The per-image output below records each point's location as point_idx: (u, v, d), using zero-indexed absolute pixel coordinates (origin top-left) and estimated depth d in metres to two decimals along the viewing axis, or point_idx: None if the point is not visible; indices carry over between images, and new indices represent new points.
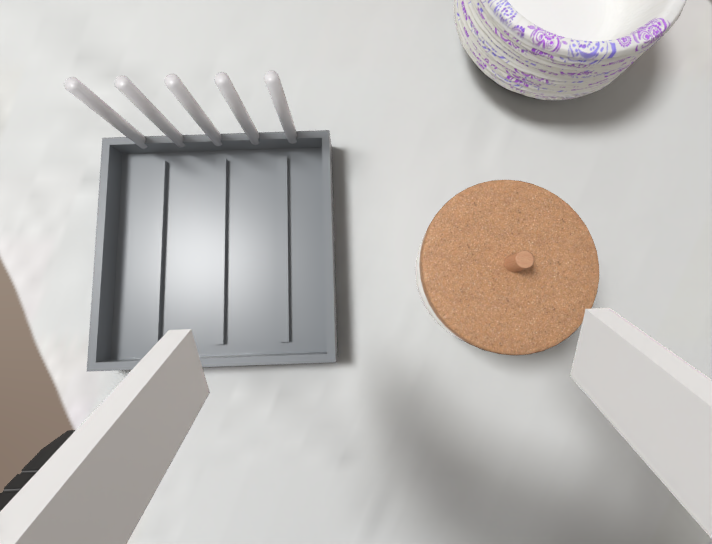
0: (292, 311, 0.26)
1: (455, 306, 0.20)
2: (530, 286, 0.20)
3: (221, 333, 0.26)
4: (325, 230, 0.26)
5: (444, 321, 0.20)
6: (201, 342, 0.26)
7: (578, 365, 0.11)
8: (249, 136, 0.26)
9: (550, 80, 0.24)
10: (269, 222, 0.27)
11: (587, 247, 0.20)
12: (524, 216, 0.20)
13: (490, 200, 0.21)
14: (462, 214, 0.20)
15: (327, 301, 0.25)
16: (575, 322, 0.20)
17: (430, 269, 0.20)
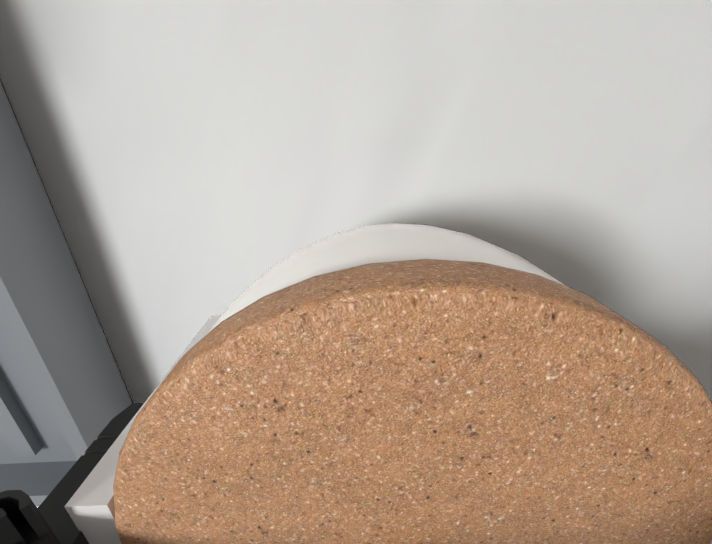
0: (24, 405, 0.13)
1: None
2: None
3: None
4: None
5: None
6: None
7: None
8: None
9: None
10: None
11: (696, 522, 0.06)
12: (487, 447, 0.05)
13: (348, 391, 0.04)
14: (226, 443, 0.05)
15: (59, 420, 0.12)
16: None
17: None
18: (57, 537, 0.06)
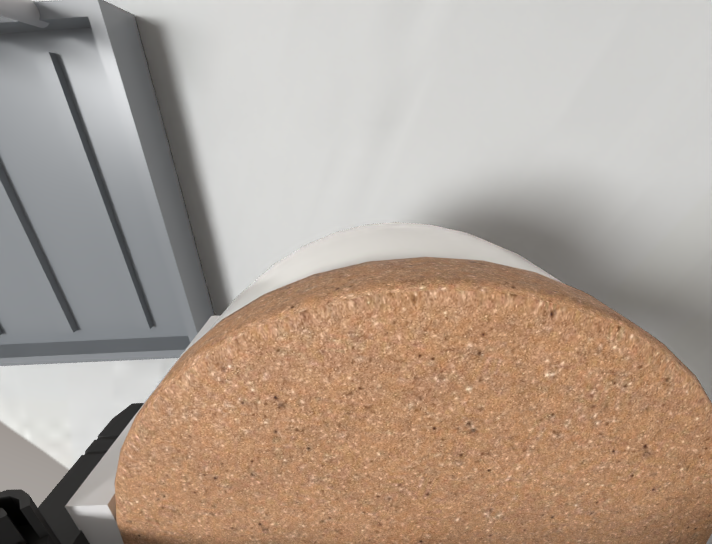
0: (145, 294, 0.21)
1: None
2: None
3: (66, 322, 0.21)
4: (147, 199, 0.17)
5: None
6: (49, 329, 0.22)
7: None
8: None
9: None
10: (70, 175, 0.18)
11: (694, 518, 0.06)
12: (487, 445, 0.05)
13: (348, 388, 0.04)
14: (227, 440, 0.05)
15: (177, 294, 0.19)
16: None
17: None
18: (58, 537, 0.06)
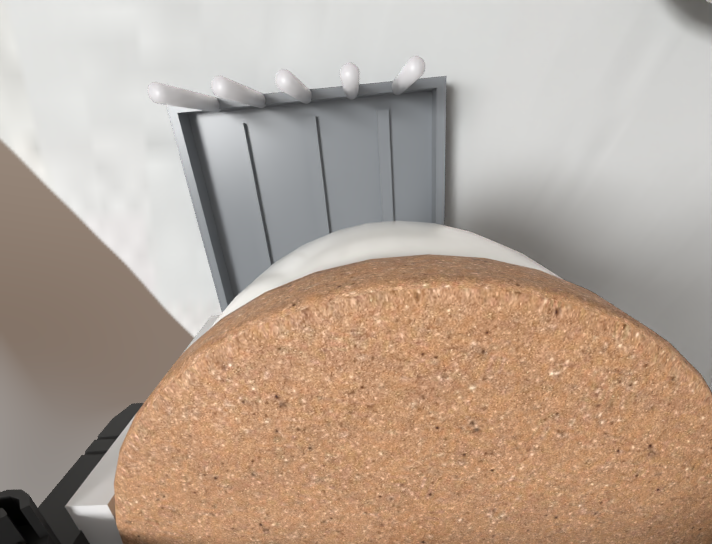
0: None
1: None
2: None
3: None
4: (437, 206, 0.24)
5: None
6: None
7: None
8: (350, 97, 0.21)
9: None
10: (370, 191, 0.25)
11: (699, 519, 0.06)
12: (490, 444, 0.05)
13: (350, 386, 0.04)
14: (227, 439, 0.05)
15: None
16: None
17: None
18: (58, 537, 0.06)
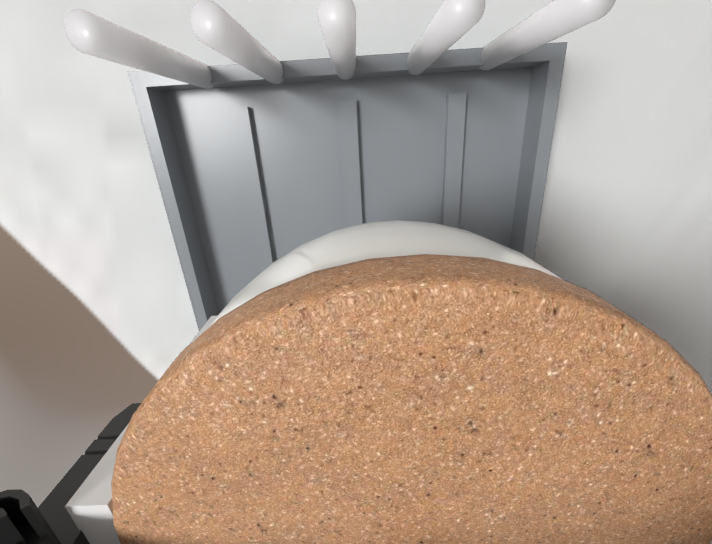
0: None
1: None
2: None
3: None
4: (527, 237, 0.17)
5: None
6: None
7: None
8: (417, 69, 0.13)
9: None
10: (427, 211, 0.18)
11: (697, 520, 0.06)
12: (488, 444, 0.05)
13: (347, 386, 0.04)
14: (226, 439, 0.05)
15: None
16: None
17: None
18: (57, 537, 0.06)
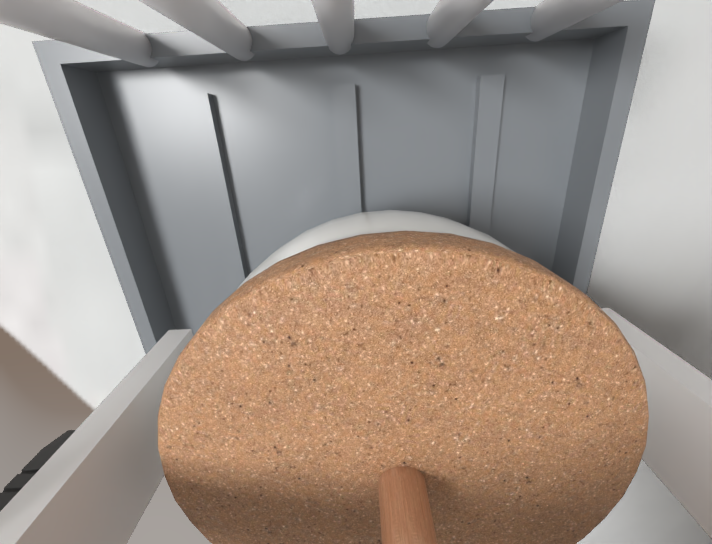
0: None
1: None
2: (440, 521, 0.08)
3: None
4: (580, 266, 0.13)
5: None
6: None
7: None
8: (443, 37, 0.09)
9: None
10: None
11: (623, 443, 0.07)
12: (453, 376, 0.06)
13: (345, 329, 0.06)
14: (251, 373, 0.06)
15: None
16: None
17: (183, 492, 0.08)
18: None
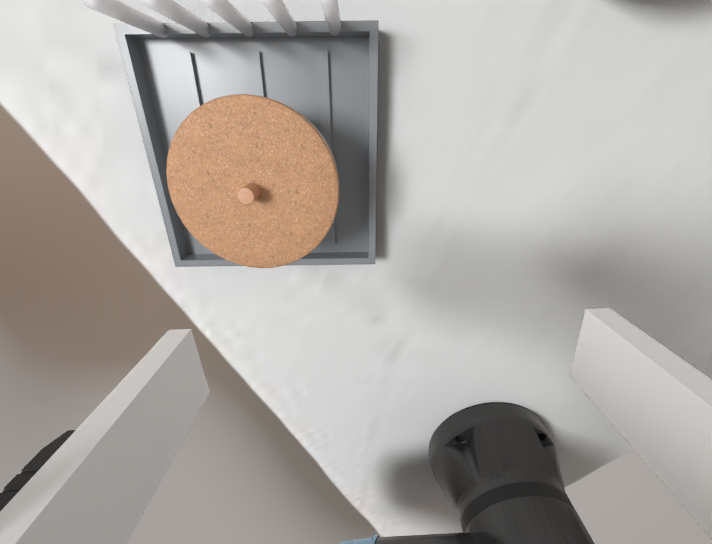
0: (336, 218, 0.30)
1: (202, 229, 0.22)
2: (269, 213, 0.21)
3: None
4: (370, 148, 0.26)
5: None
6: None
7: (578, 365, 0.11)
8: (287, 31, 0.22)
9: None
10: None
11: (326, 177, 0.21)
12: (262, 142, 0.20)
13: (226, 121, 0.19)
14: (197, 138, 0.20)
15: (370, 216, 0.28)
16: (311, 244, 0.22)
17: (175, 194, 0.21)
18: None
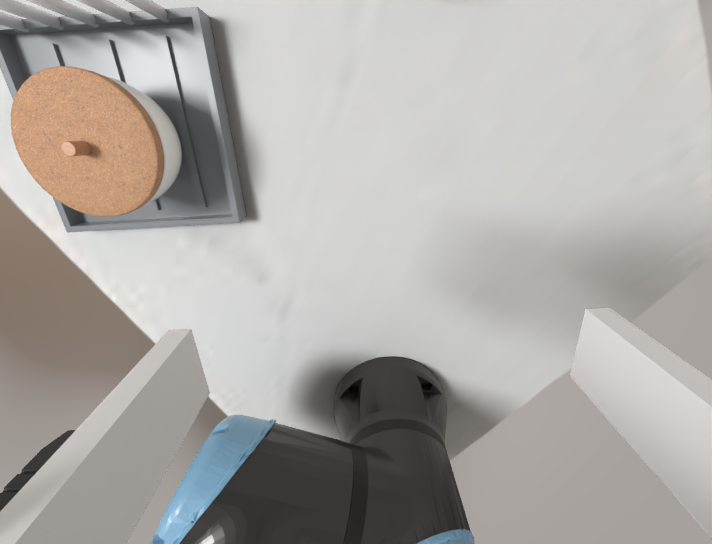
0: (204, 184, 0.34)
1: (50, 183, 0.26)
2: (102, 166, 0.26)
3: (154, 202, 0.35)
4: (213, 117, 0.31)
5: (50, 194, 0.27)
6: (142, 209, 0.35)
7: (578, 365, 0.11)
8: (120, 20, 0.27)
9: None
10: (167, 106, 0.32)
11: (141, 132, 0.25)
12: (82, 105, 0.24)
13: (50, 89, 0.24)
14: (30, 104, 0.24)
15: (225, 178, 0.33)
16: (143, 193, 0.27)
17: (22, 154, 0.26)
18: None
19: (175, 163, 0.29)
